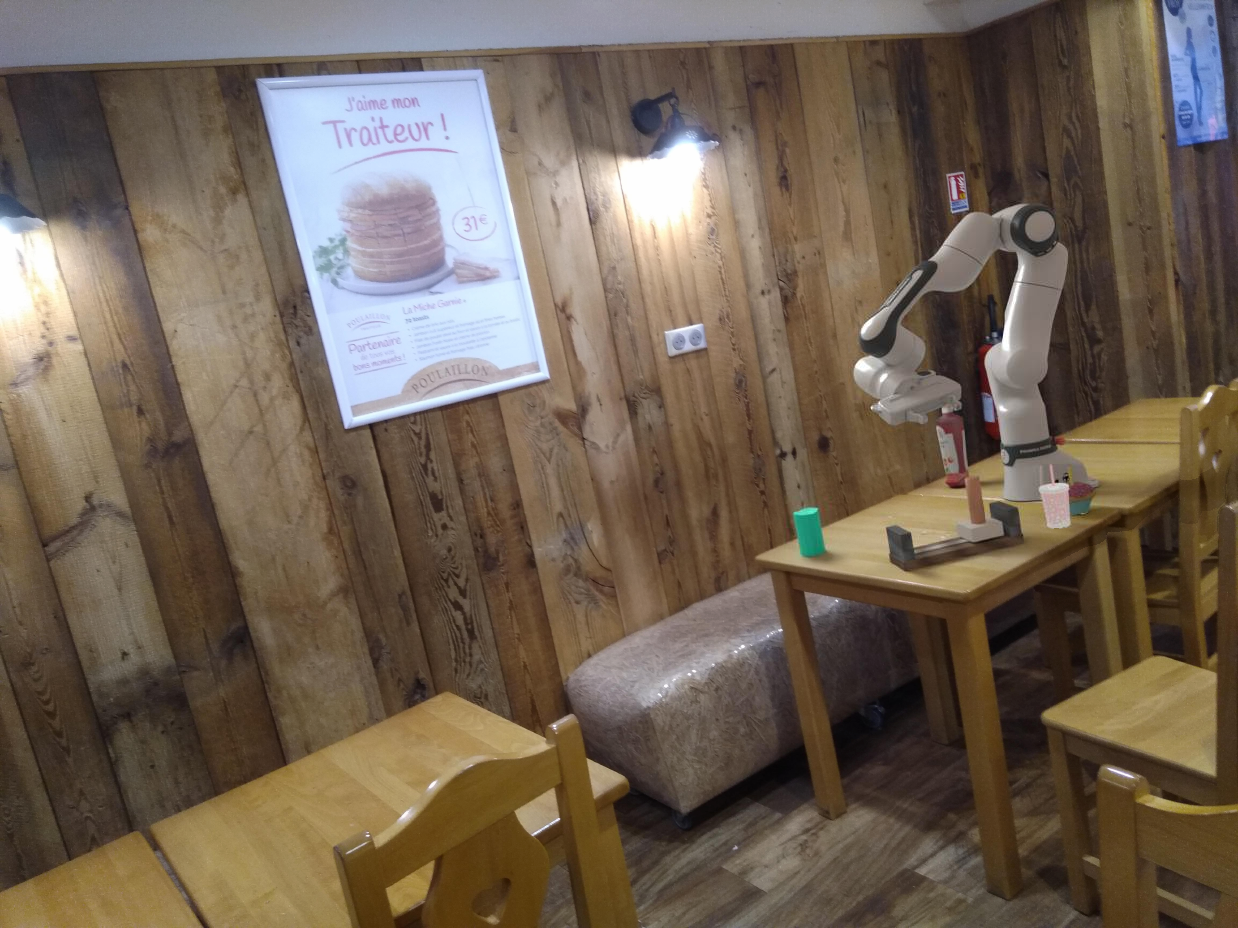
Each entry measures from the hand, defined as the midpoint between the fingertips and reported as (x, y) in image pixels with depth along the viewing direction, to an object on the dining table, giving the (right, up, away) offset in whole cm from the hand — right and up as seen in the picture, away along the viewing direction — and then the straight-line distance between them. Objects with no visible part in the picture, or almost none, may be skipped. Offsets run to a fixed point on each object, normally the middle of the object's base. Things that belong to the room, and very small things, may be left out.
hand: (942, 413), depth 206 cm
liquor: (+21, -18, +46) cm, 54 cm away
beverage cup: (+24, -25, -5) cm, 35 cm away
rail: (0, -31, -9) cm, 32 cm away
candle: (-27, -33, +13) cm, 45 cm away
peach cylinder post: (+5, -27, -9) cm, 29 cm away
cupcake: (+31, -23, +1) cm, 39 cm away
